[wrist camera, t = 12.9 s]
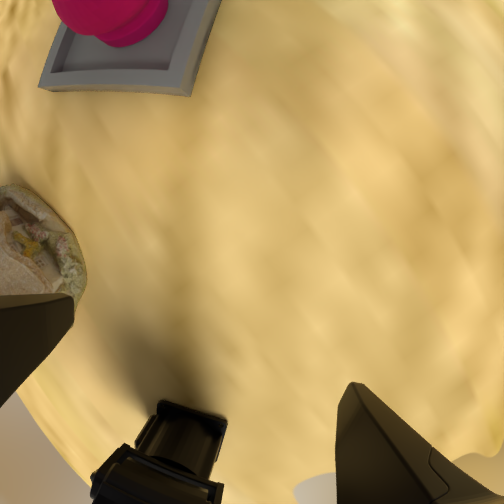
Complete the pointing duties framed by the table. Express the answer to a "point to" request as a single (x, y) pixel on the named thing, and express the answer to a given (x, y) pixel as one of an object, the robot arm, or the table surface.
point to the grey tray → (134, 55)
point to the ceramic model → (37, 248)
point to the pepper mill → (112, 18)
